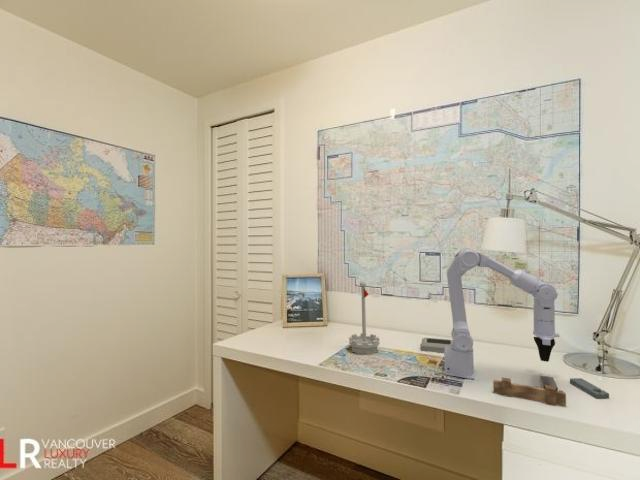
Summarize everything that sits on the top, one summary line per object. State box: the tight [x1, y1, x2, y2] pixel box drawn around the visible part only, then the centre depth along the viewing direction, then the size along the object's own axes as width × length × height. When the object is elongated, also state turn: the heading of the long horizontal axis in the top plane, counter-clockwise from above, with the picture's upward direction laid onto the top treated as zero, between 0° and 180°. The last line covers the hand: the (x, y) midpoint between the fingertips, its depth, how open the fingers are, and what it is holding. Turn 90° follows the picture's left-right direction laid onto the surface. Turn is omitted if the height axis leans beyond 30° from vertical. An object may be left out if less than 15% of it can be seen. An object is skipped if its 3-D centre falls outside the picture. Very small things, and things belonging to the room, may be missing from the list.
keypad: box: [420, 337, 453, 354], centre depth 139 cm, size 10×4×15 cm
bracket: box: [569, 377, 610, 400], centre depth 100 cm, size 4×10×2 cm, turn 179°
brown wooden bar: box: [492, 377, 567, 407], centre depth 97 cm, size 18×5×4 cm, turn 60°
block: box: [539, 374, 559, 391], centre depth 98 cm, size 3×8×4 cm, turn 152°
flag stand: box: [348, 280, 380, 355], centre depth 140 cm, size 13×13×30 cm
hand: (544, 360), depth 106 cm, fingers closed
